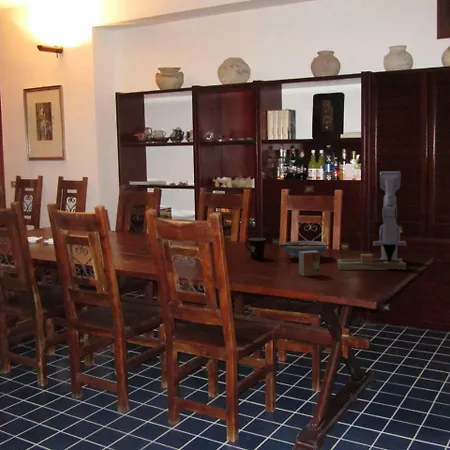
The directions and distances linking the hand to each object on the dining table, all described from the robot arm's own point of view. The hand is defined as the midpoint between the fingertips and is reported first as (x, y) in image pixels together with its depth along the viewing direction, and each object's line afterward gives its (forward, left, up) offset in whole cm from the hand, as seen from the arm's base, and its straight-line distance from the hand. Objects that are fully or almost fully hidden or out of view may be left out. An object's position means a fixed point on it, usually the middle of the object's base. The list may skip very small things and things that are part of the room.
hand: (389, 260), depth 284 cm
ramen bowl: (-25, -38, -3) cm, 46 cm away
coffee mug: (-27, -63, -3) cm, 69 cm away
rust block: (0, -10, -1) cm, 10 cm away
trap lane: (0, -8, -3) cm, 9 cm away
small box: (+16, -37, -3) cm, 41 cm away
